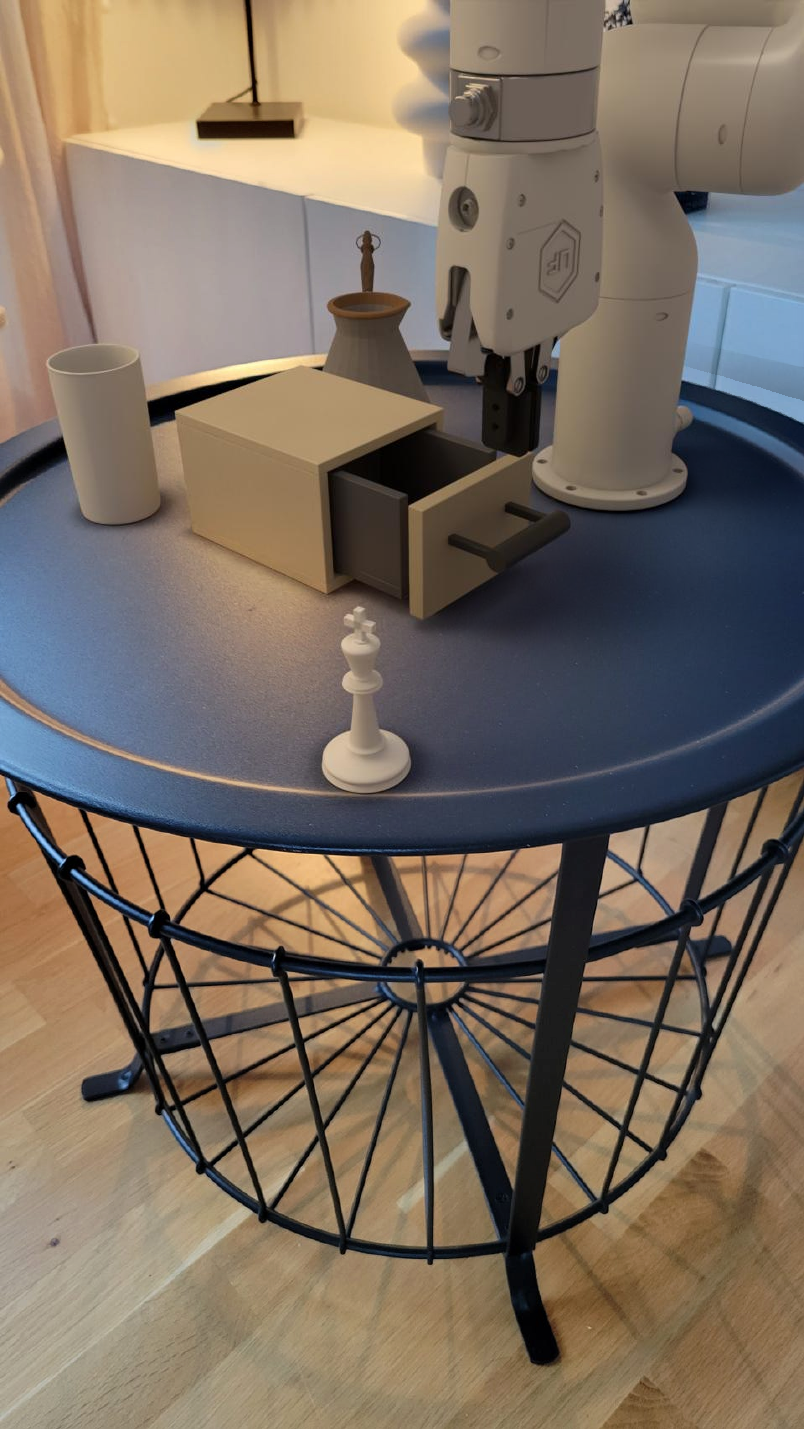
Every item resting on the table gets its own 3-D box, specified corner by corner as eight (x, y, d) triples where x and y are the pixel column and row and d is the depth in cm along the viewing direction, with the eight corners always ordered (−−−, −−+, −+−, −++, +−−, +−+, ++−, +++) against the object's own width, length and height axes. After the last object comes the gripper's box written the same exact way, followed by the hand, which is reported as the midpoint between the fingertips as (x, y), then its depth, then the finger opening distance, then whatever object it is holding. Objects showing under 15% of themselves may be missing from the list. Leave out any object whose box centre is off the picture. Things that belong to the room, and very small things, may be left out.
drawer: (583, 577, 73) (594, 471, 68) (481, 647, 66) (485, 534, 61) (387, 502, 82) (384, 405, 78) (280, 556, 76) (271, 453, 71)
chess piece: (379, 805, 56) (373, 646, 50) (304, 774, 58) (289, 618, 52) (427, 754, 59) (427, 600, 53) (354, 727, 61) (346, 575, 55)
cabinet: (443, 530, 81) (444, 408, 75) (327, 594, 73) (318, 464, 67) (309, 478, 88) (301, 364, 83) (192, 532, 81) (174, 410, 75)
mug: (153, 527, 82) (127, 373, 74) (68, 527, 82) (33, 374, 75) (180, 473, 90) (158, 329, 82) (102, 473, 90) (73, 330, 83)
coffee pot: (440, 480, 88) (441, 293, 79) (302, 483, 88) (287, 296, 79) (431, 389, 105) (431, 227, 96) (315, 392, 105) (304, 230, 96)
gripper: (491, 139, 47) (482, 509, 59) (664, 94, 56) (627, 424, 67) (369, 124, 51) (383, 473, 63) (548, 84, 60) (531, 397, 71)
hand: (509, 447), depth 65 cm, fingers closed
